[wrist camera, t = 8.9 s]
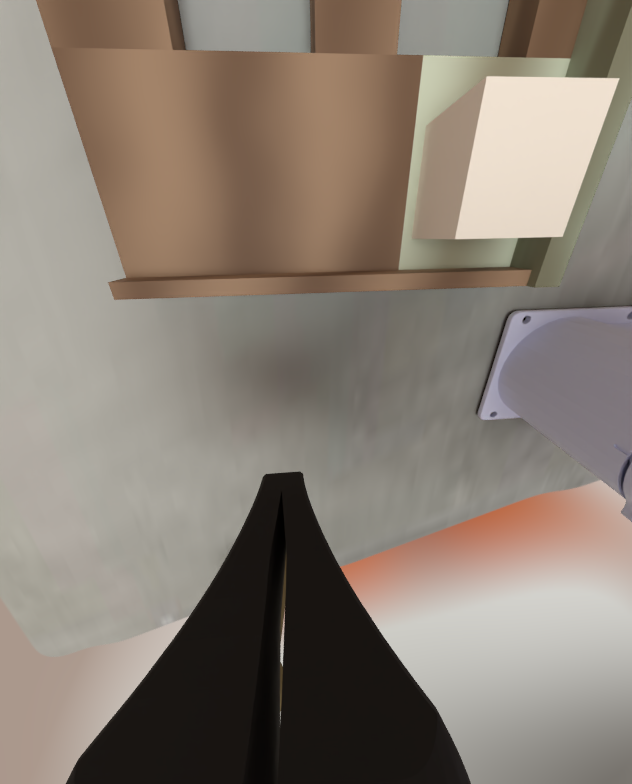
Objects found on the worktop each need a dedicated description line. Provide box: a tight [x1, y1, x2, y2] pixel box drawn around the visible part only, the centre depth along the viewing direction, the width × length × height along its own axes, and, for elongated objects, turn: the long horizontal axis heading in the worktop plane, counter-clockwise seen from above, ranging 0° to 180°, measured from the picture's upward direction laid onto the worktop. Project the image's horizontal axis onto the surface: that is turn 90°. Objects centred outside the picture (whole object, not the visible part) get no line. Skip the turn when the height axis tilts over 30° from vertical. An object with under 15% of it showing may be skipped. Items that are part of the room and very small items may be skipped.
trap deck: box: [36, 0, 632, 300], centre depth 11 cm, size 20×14×4 cm
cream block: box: [411, 76, 620, 239], centre depth 11 cm, size 4×4×4 cm
